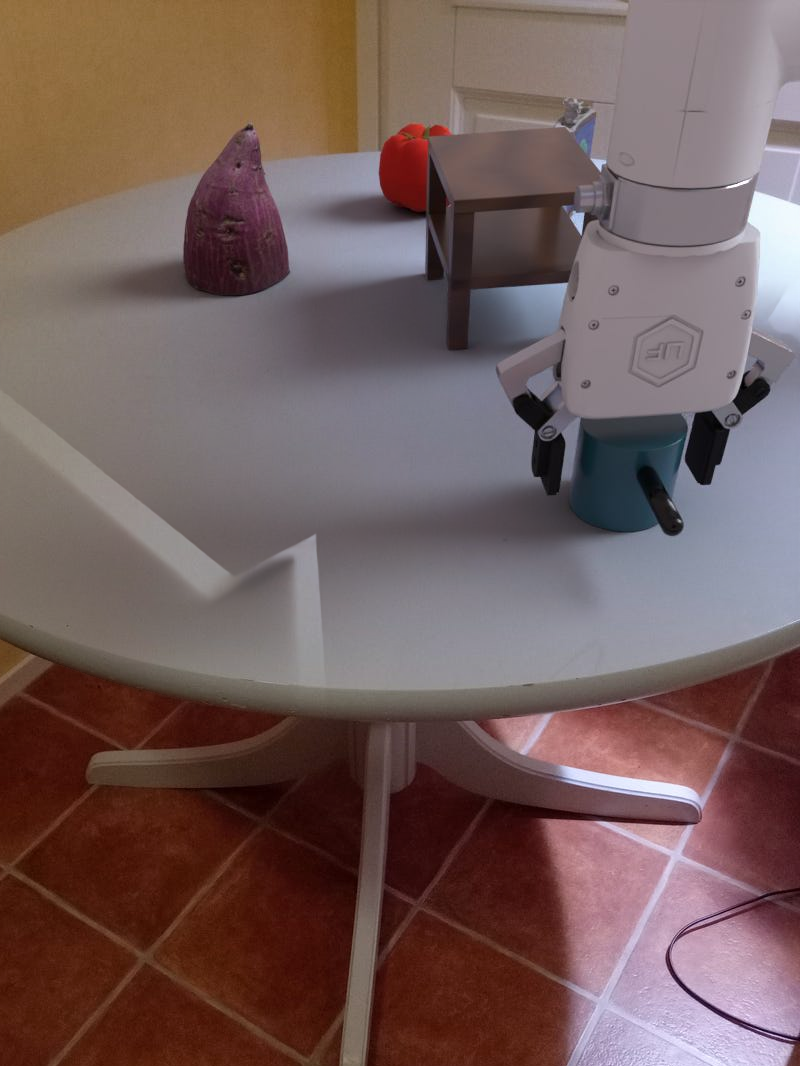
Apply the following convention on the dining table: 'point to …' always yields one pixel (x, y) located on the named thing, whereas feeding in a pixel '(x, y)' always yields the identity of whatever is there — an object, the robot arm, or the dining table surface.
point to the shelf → (501, 213)
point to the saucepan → (628, 472)
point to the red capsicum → (407, 166)
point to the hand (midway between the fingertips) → (622, 478)
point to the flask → (578, 128)
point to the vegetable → (235, 224)
